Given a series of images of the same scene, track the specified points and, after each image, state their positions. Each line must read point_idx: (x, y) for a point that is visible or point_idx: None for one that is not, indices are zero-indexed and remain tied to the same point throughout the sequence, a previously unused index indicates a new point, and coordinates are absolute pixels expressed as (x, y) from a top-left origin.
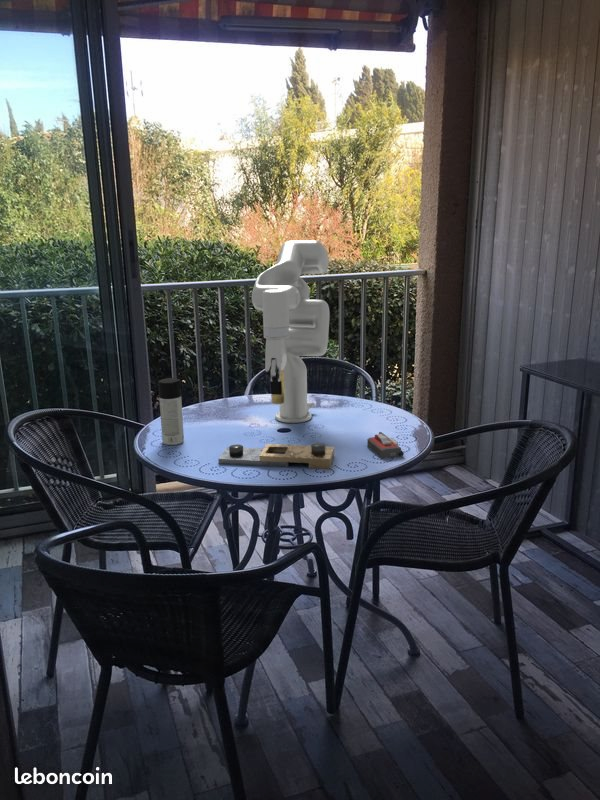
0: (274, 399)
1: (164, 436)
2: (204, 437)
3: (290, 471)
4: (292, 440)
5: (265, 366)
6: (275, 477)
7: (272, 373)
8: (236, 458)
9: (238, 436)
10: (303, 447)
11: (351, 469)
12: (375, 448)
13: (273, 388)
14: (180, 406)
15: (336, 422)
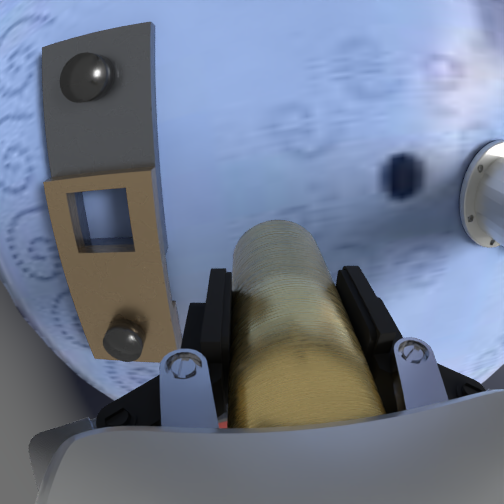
0: (235, 260)
1: None
2: None
3: (54, 262)
4: (303, 219)
5: (42, 495)
6: (14, 235)
7: (39, 462)
8: (51, 99)
9: (328, 22)
10: (148, 295)
11: (119, 373)
12: (226, 413)
13: (188, 321)
14: None
15: (446, 308)
